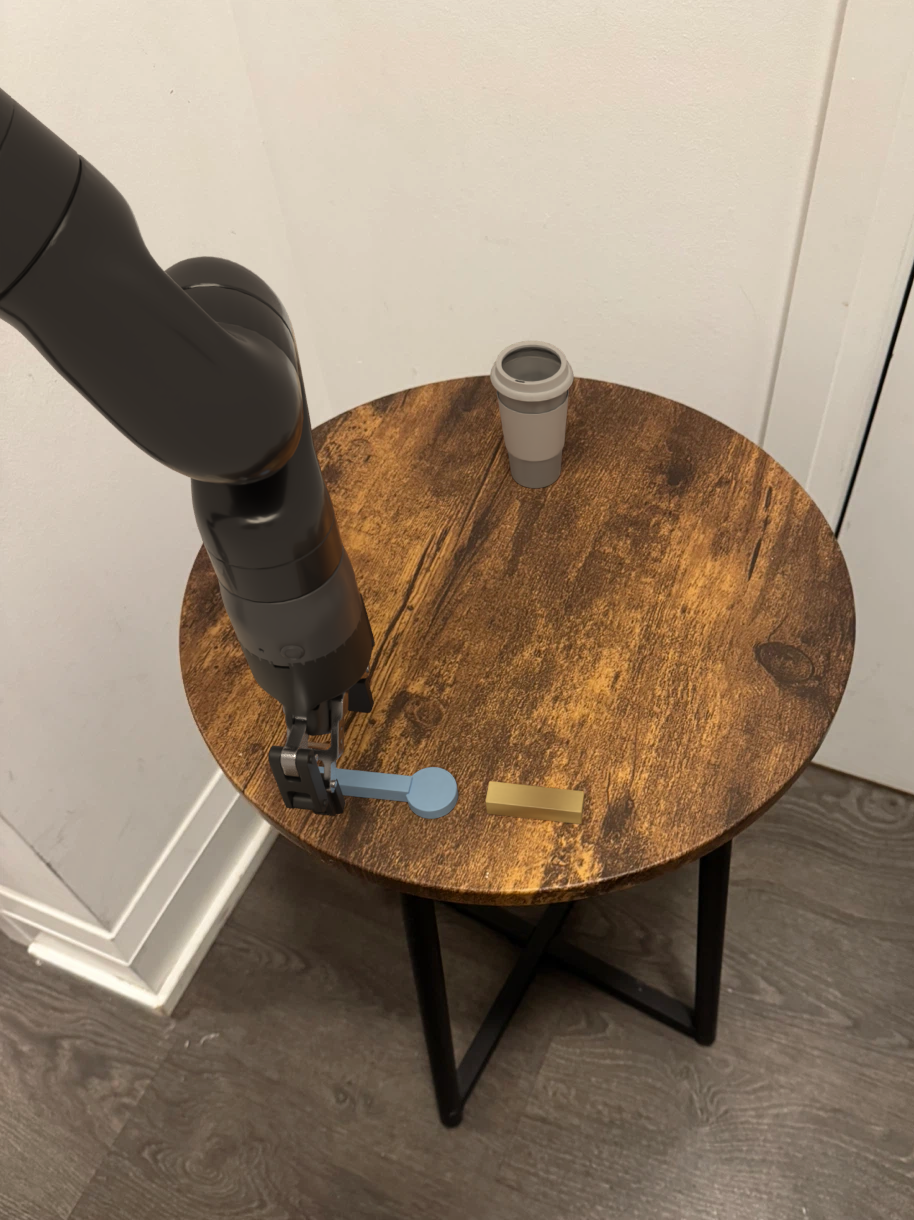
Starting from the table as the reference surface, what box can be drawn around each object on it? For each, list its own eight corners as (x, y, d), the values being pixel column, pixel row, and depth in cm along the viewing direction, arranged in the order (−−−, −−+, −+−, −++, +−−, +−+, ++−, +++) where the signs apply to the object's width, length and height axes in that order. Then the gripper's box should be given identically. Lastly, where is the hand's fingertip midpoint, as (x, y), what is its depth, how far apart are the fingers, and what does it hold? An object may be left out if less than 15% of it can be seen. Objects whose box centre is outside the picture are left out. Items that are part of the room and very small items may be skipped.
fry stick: (486, 814, 76) (485, 801, 75) (490, 793, 77) (489, 780, 76) (581, 824, 75) (581, 812, 74) (584, 803, 76) (584, 791, 75)
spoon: (302, 805, 77) (298, 794, 76) (315, 762, 79) (311, 751, 78) (453, 821, 76) (451, 811, 75) (462, 777, 78) (460, 766, 77)
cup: (487, 486, 96) (476, 377, 86) (513, 440, 99) (506, 330, 89) (559, 503, 94) (557, 395, 84) (583, 456, 97) (584, 346, 88)
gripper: (269, 516, 65) (320, 672, 78) (195, 701, 57) (265, 839, 70) (386, 527, 64) (417, 682, 77) (328, 715, 56) (373, 852, 70)
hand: (345, 757), depth 74 cm, fingers open, 8 cm apart
